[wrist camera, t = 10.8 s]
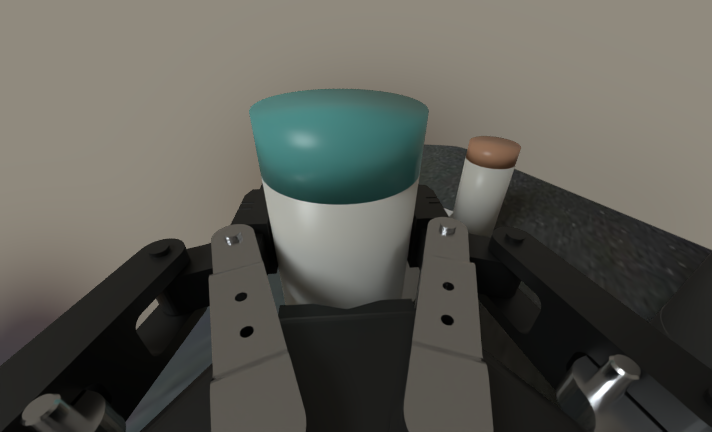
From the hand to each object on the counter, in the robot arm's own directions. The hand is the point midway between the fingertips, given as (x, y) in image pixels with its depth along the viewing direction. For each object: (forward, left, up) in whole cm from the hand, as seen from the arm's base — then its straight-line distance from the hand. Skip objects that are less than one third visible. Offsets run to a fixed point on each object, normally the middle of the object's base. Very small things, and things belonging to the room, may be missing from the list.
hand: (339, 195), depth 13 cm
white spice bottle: (-22, -9, -15) cm, 28 cm away
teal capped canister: (+1, +2, -7) cm, 7 cm away
